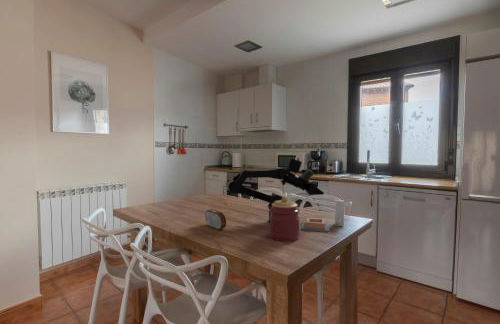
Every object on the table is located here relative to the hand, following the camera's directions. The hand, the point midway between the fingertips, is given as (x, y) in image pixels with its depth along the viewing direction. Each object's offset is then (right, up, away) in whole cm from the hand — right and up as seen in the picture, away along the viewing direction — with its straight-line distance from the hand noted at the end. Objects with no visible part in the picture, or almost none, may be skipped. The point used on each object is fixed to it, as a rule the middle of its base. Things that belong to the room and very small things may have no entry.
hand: (320, 191), depth 141 cm
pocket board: (-6, -16, -13) cm, 21 cm away
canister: (-23, -17, -27) cm, 39 cm away
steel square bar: (+7, -16, -9) cm, 20 cm away
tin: (-55, -16, -13) cm, 59 cm away
